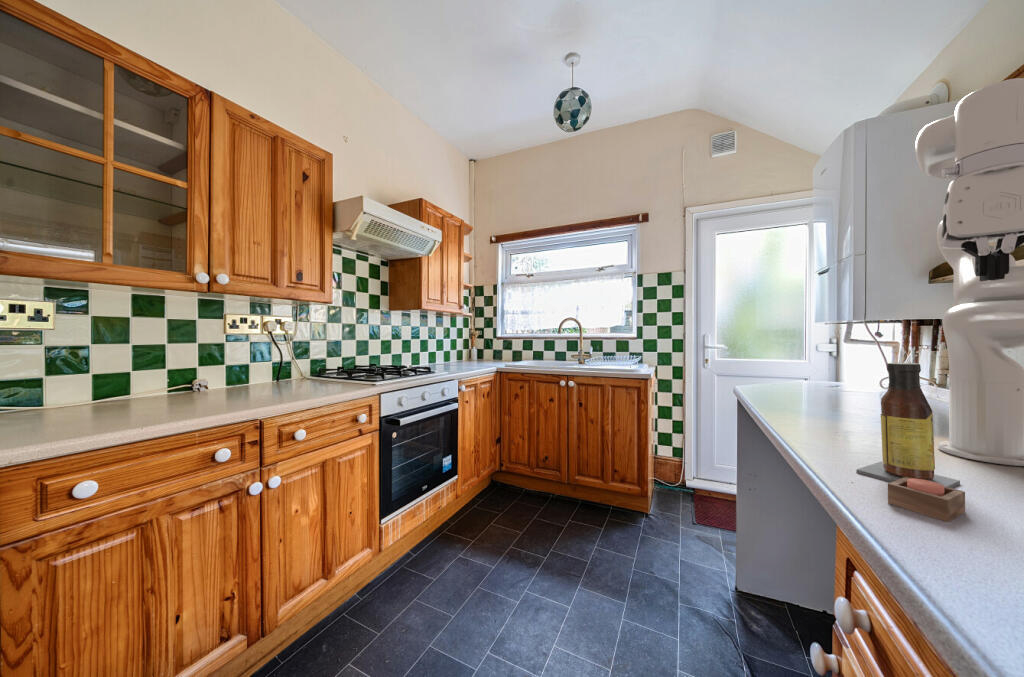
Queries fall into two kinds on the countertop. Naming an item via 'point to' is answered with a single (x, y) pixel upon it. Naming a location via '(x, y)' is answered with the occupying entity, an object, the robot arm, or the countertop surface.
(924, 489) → the button
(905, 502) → the box
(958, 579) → the countertop surface
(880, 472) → the mat
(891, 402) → the sauce bottle
